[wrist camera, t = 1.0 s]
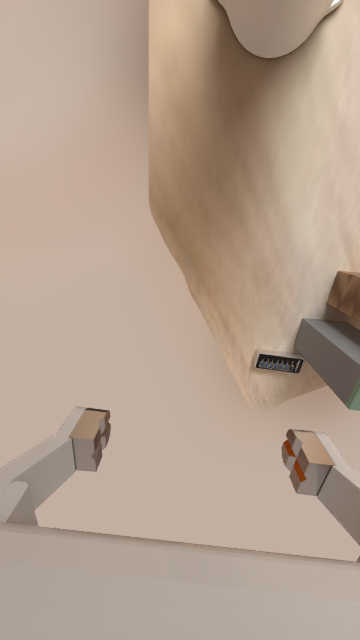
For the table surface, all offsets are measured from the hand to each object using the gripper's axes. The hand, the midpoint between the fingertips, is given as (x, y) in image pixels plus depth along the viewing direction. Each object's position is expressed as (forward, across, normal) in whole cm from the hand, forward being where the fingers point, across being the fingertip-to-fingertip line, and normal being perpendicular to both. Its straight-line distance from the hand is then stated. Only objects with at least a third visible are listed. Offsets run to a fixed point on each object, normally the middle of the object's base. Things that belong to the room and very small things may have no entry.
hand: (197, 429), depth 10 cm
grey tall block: (+40, -30, +11) cm, 52 cm away
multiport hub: (+41, -22, +19) cm, 50 cm away
